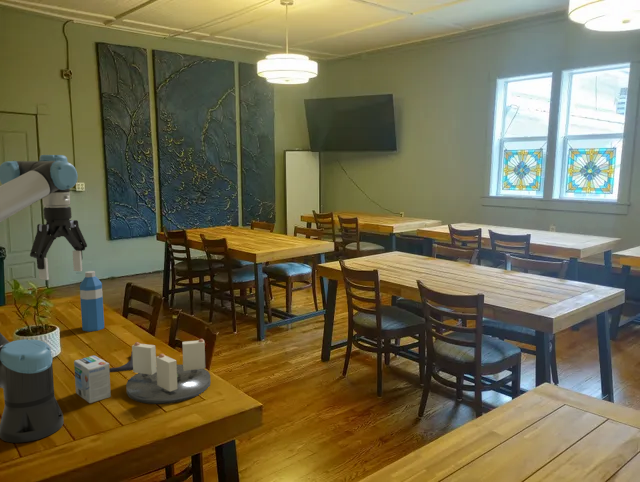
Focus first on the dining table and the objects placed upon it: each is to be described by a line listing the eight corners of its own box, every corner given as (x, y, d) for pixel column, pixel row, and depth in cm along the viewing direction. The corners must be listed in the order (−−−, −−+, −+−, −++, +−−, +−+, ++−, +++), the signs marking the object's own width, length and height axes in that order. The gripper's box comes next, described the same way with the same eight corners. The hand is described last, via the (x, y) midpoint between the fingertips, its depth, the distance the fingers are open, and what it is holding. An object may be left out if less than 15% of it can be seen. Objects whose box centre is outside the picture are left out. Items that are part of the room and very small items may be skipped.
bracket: (154, 355, 196) (153, 348, 196) (153, 369, 182) (152, 362, 182) (113, 359, 192) (112, 351, 192) (109, 374, 178) (108, 366, 178)
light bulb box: (75, 393, 162) (72, 360, 160) (96, 386, 167) (94, 354, 165) (90, 404, 155) (87, 369, 153) (112, 396, 159) (110, 363, 158)
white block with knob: (177, 392, 157) (176, 357, 155) (170, 395, 155) (168, 359, 154) (164, 386, 162) (163, 351, 160) (157, 388, 160) (155, 354, 158)
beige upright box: (183, 374, 171) (182, 341, 169) (183, 371, 173) (182, 339, 172) (205, 371, 173) (204, 339, 171) (204, 368, 175) (203, 337, 174)
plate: (171, 411, 150) (170, 398, 149) (108, 393, 162) (107, 380, 161) (226, 378, 173) (226, 367, 172) (167, 365, 185) (167, 354, 184)
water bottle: (99, 331, 222) (96, 274, 218) (77, 331, 222) (74, 274, 218) (108, 324, 231) (105, 269, 227) (87, 324, 231) (84, 269, 227)
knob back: (156, 375, 170) (155, 342, 168) (151, 378, 167) (150, 345, 166) (138, 372, 172) (136, 340, 170) (133, 375, 169) (131, 343, 168)
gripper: (33, 209, 144) (38, 284, 147) (96, 203, 168) (100, 268, 171) (12, 209, 147) (18, 282, 150) (77, 203, 170) (81, 266, 173)
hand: (61, 275), depth 160 cm, fingers open, 13 cm apart
